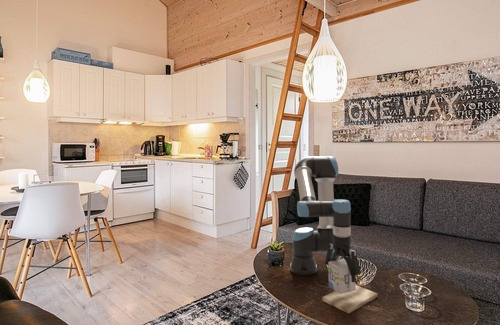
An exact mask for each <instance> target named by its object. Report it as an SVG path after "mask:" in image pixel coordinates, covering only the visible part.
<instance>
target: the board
mask: <svg viewBox="0 0 500 325" xmlns="http://www.w3.org/2000/svg"><path fill="white" fill-rule="evenodd" d="M376 298H378V293H377V292H375V291H372V290H370V289H367V288H365V287H362V286H359V285H357V284H356V290H355V291H351V292H347V293H343V294H340V293H338V292H337V291H335V290H334V291H332V292H330V293H328V294H326V295H324V296H322V298H321V300H322V302H325V304H326V303H327V304H328V305H330V306H333V307H334V308H337V309H338V310H341V311H343V312H344V313H347V314H351V313H352V312H354V311H356V310H357V309H359V308H361V307H362V306H364V305H366V304H368V303H369V302H371V301H373V300H375V299H376Z"/></svg>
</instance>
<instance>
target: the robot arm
mask: <svg viewBox="0 0 500 325" xmlns="http://www.w3.org/2000/svg"><path fill="white" fill-rule="evenodd" d="M293 174H294V177H295V178H296V181H297V186H298V195H299V201H297V203H296V210H297V211H296V212H297V215H298V217H301V218H302V217H303V218H319V219H318V220H319V222H318V223H319V224H318V226H316V230H314V228H313V227H300V228H296V229H295V230H294V231H292V258H291V261H290V265H289V271H290V272H292V273H294V274H295V275H299V276H311V275H314V274H316V273H317V271H318V266H317V264H316V259H315V256H314V255H315V254H314V253H326V256H325V261H324V264H325V265H327V266H328V267H329V263H328V262H329V261H335V260H338V257H342V259H344V260H345V261H346V263H347V265H348V268H349V270H350V273H351V274H350V275H349V289H350V290H352V289H354V288H355V283H356V282H357V275H360V274H361V269H360V264H359V259H358V251H357V250H356V249H355V250H354V249H352V248H351V244H352V243H351V239H352V237H351V234H352V233H351V232H352V231H351V230H352V229H351V227H352V225H351V216H352V215H351V214H352V212H351V211H352V208H351V202H350V200H348V199H336V198H334V197H335V196H334V194H335V193H334V182H335V180H336V177H338V175H339V165H338V161H337V159H336V158H335V156H331V155H320V156H319V155H317V156H313V155H312V156H310V155H309V156H305V157H303V158H301V159H300V160H299V161H298V162H297V163H296V165H295V167H294V171H293ZM312 177H314V180H315V181H316V182H317V195H318V196H317V197H318V200H317V199H316V195H315V190H314V185H313V181H312Z"/></svg>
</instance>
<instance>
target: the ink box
mask: <svg viewBox="0 0 500 325" xmlns="http://www.w3.org/2000/svg"><path fill="white" fill-rule="evenodd" d="M328 263H329V266H328V287H329V288H331V289H332V290H334V291H337V292H338V293H340V294H343V293H347V292H351V291H355V290H356V285H357V284H356V282H355V288H354V289H352V290H350V289H349V275H350V274H351V273H350V270H349V268H348V265H347V263H346V261H345V260H344V258H339V259H336V260H335V261H329V262H328Z"/></svg>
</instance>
